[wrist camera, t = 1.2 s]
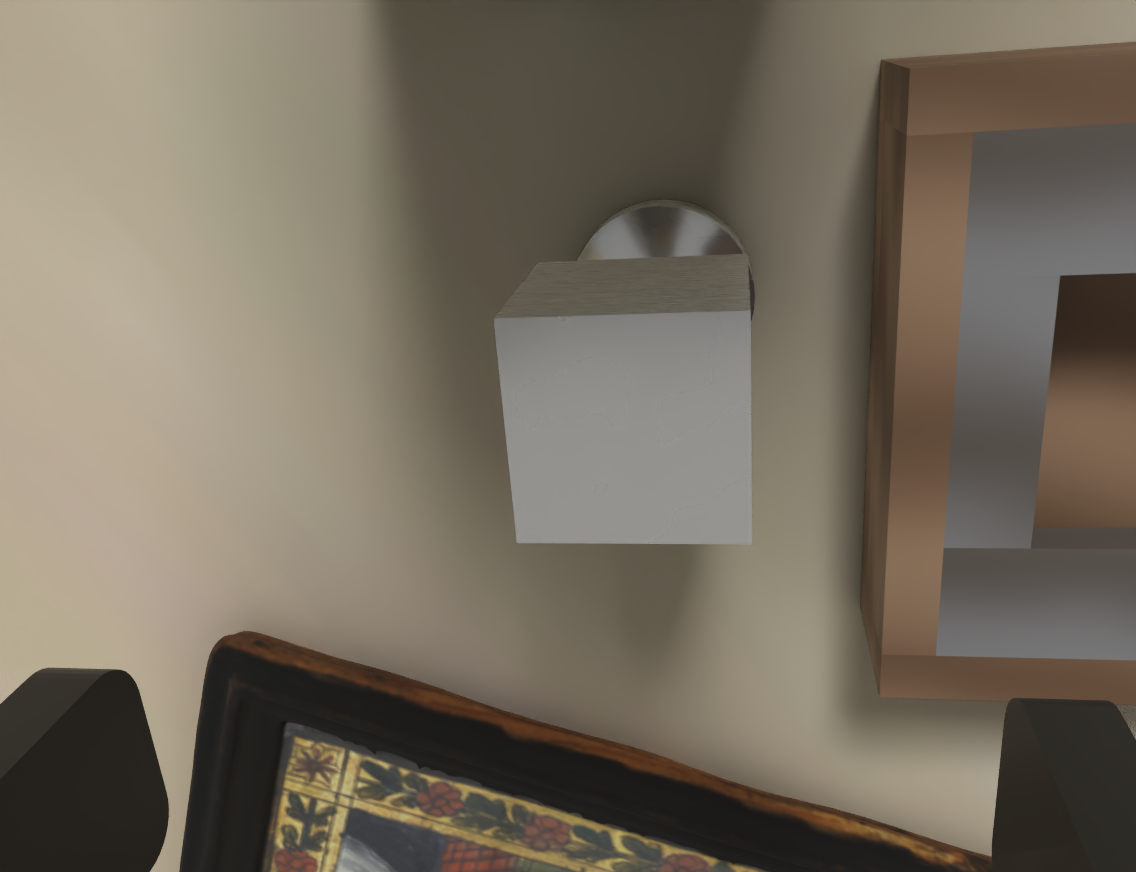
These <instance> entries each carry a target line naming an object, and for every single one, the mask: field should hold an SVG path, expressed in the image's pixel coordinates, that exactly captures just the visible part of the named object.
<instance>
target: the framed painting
mask: <svg viewBox="0 0 1136 872" xmlns="http://www.w3.org/2000/svg"><path fill="white" fill-rule="evenodd" d="M179 872H993V871H992V857H990V856H986V855H983V854H979V853H975V852H971V851H968V850H964V849H961V848H958V847H955V846H951V845H948V844H945V843H942V842H938V841H936V840H933V839H930V838H927V837H924V836H921V835H918V834H915V833H911V832H908V831H905V830H902V829H899V828H896V827H894V826H890V825H887V824H884V823H881V822H878V821H875V820H872V819H868V818H865V817H862V816H858V815H854V814H851V813H847V812H843V811H840V810H836V809H833V808H829V807H825V806H821V805H816V804H812V803H808V802H804V801H800V800H796V799H792V798H787V797H783V796H779V795H775V794H771V793H768V792H764V791H761V790H757V789H754V788H750V787H747V786H744V785H741V784H737V783H734V782H731V781H727V780H724V779H722V778H719V777H716V776H714V775H711V774H709V773H706V772H703V771H700V770H697V769H694V768H691V767H689V766H686V765H684V764H681V763H678V762H676V761H673V760H670V759H667V758H665V757H662V756H659V755H656V754H653V753H649V752H646V751H643V750H640V749H636V748H633V747H630V746H626V745H623V744H619V743H615V742H611V741H608V740H604V739H601V738H597V737H593V736H589V735H585V734H582V733H578V732H575V731H571V730H567V729H564V728H560V727H557V726H553V725H549V724H546V723H542V722H539V721H535V720H532V719H529V718H526V717H523V716H519V715H516V714H513V713H510V712H506V711H502V710H500V709H497V708H494V707H491V706H488V705H485V704H482V703H479V702H476V701H473V700H471V699H468V698H465V697H462V696H459V695H456V694H454V693H451V692H448V691H446V690H443V689H440V688H437V687H434V686H431V685H428V684H425V683H422V682H419V681H416V680H412V679H409V678H406V677H403V676H400V675H397V674H393V673H390V672H387V671H384V670H380V669H376V668H373V667H369V666H365V665H362V664H358V663H354V662H350V661H346V660H343V659H339V658H336V657H332V656H329V655H326V654H323V653H320V652H316V651H313V650H310V649H307V648H304V647H301V646H298V645H294V644H292V643H289V642H285V641H282V640H279V639H276V638H273V637H270V636H267V635H264V634H260V633H256V632H250V631H243V632H239V633H237V634H234V635H228V636H224V637H223V638H221V639H220V640H219V641H218V642H217V643H216V644H215V646H214V647H213V649H212V651H211V653H210V656H209V659H208V663H207V668H206V673H205V679H204V685H203V692H202V699H201V706H200V713H199V719H198V725H197V733H196V742H195V750H194V761H193V770H192V779H191V787H190V795H189V802H188V809H187V817H186V825H185V832H184V839H183V847H182V855H181V862H180V871H179Z"/></svg>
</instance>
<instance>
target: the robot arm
mask: <svg viewBox="0 0 1136 872" xmlns="http://www.w3.org/2000/svg"><path fill="white" fill-rule="evenodd" d="M168 818H169V805H168V797H167V792H166V789H165V785H164V781H163V777H162V774H161V770H160V766H159V763H158V759H157V755H156V752H155V748H154V744H153V740H152V737H151V733H150V729H149V726H148V722H147V718H146V715H145V711H144V707H143V703H142V700H141V696H140V692H139V690H138V687H137V684H136V683H135V681H134V679H133V678H132V677H131V676H130V675H129V674H128V673H127V672H125V671H122V670H113V669H78V668H45V669H41V670H39V671H37V672H35V673H34V674H33V675H32V676H30V677H29V678H28V679H27V680H26V681H25V682H24V683H23V684H22V685H20V686H19V687H18V688H17V689H16V690H15V691H14V692H13V693H12V694H11V695H10V696H9V697H7V698H6V699H5V700H4V701H3V702H2V703H1V704H0V872H150V870H151V869H152V867H153V866H154V864H155V862H156V861H157V858H158V856H159V854H160V852H161V849H162V847H163V844H164V840H165V836H166V832H167V827H168ZM992 871H993V872H1136V740H1135V738H1134V736H1133V734H1132V732H1131V731H1130V729H1129V727H1128V725H1127V723H1126V722H1125V720H1124V718H1123V716H1122V715H1121V713H1120V711H1119V710H1118V708H1117V707H1116V706H1115V705H1114V704H1113V703H1112V702H1110V701H1107V700H1074V699H1039V698H1012V699H1011V700H1010V702H1009V703H1008V706H1007V709H1006V714H1005V720H1004V729H1003V739H1002V749H1001V759H1000V769H999V778H998V788H997V798H996V808H995V818H994V828H993V838H992Z"/></svg>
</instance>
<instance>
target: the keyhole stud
mask: <svg viewBox="0 0 1136 872" xmlns="http://www.w3.org/2000/svg"><path fill="white" fill-rule="evenodd" d="M754 297H755V296H754V282H753V273H752V268H751V263H750V261H749V258H748V254H747V252H746V250H745V248H744V246H743V245H742V243H741V241H740V240H739V238H738V237H737V235H736V234H735V233H734V231H733V230H732V229H731V228H730V227H729V226H728V225H727V224H726V223H725V222H724V221H722V220H721V219H720V218H719V217H717V216H716V215H714V214H713V213H711V212H709V211H708V210H706V209H704V208H702V207H699V206H697V205H694V204H691V203H687V202H684V201H677V200H662V199H660V200H651V201H645V202H641V203H637V204H635V205H632V206H630V207H627V208H625V209H623V210H621V211H619V212H618V213H616V214H614V215H613V216H612V217H610V218H609V219H608V220H606V221H605V222H604V223H603V224H602V225H601V226H600V227H599V228H598V229H597V230H596V231H595V233H594V234H593V235H592V237H591V238H590V239H589V241H588V242H587V244H586V246H585V247H584V249H583V251H582V252H581V254H580V256H579V257H578V260H577V261H557V262H538V263H537V264H536V265H535V267H534V268H533V269H532V270H531V272H530V273H529V274H528V276H527V277H526V278H525V279H524V281H523V282H522V283H521V284H520V286H519V287H518V288H517V289H516V291H515V292H514V293H513V294H512V296H511V297H510V298H509V300H508V301H507V302H506V303H505V305H504V306H503V307H502V308H501V310H500V311H499V312H498V313H497V315H496V316H495V317H494V319H493V320H494V329H495V339H496V349H497V358H498V368H499V377H500V387H501V397H502V406H503V416H504V425H505V435H506V444H507V454H508V464H509V473H510V483H511V492H512V502H513V512H514V521H515V531H516V540H517V543H583V544H752V430H751V320H752V315H753V310H754Z"/></svg>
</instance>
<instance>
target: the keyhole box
mask: <svg viewBox="0 0 1136 872" xmlns="http://www.w3.org/2000/svg"><path fill="white" fill-rule="evenodd" d="M860 608H861V612H862V617H863V622H864V626H865V631H866V636H867V641H868V645H869V650H870V655H871V659H872V664H873V669H874V674H875V678H876V683H877V688H878V693H879V697H880V698H910V699H944V700H977V701H1010V700H1011V699H1012V698H1039V699H1074V700H1107V701H1110V702H1112V703H1113V704H1114V705H1136V42H1127V43H1113V44H1098V45H1084V46H1070V47H1056V48H1042V49H1028V50H1013V51H999V52H985V53H971V54H957V55H943V56H928V57H914V58H900V59H886V60H881V85H880V111H879V137H878V163H877V189H876V215H875V241H874V267H873V293H872V319H871V345H870V371H869V397H868V423H867V449H866V475H865V501H864V527H863V554H862V580H861V606H860Z"/></svg>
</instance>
